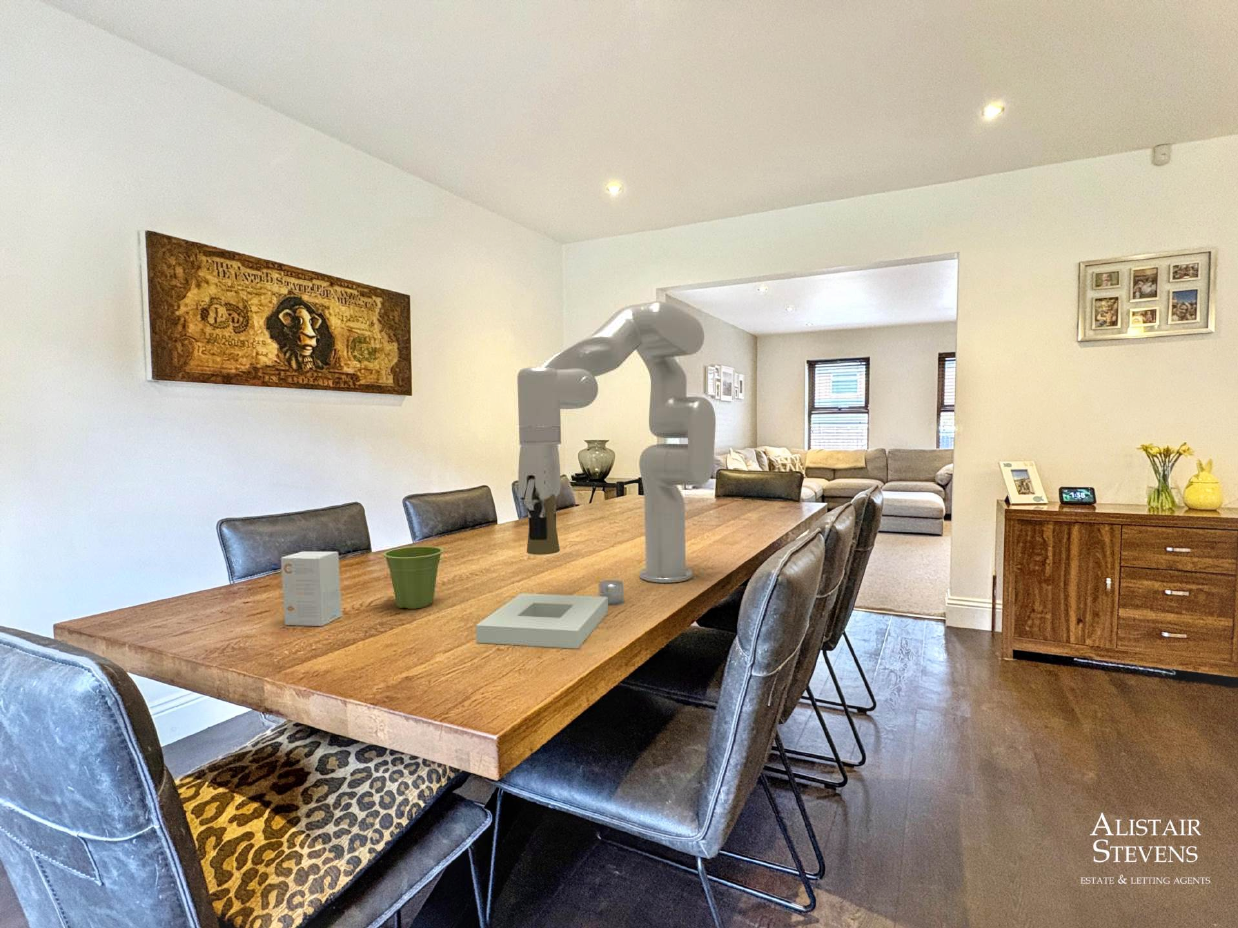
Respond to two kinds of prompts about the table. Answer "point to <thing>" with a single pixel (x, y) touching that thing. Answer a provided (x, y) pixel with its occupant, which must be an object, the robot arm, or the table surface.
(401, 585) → the plant pot
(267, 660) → the table surface
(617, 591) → the short metal pin
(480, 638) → the hole board
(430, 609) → the table surface
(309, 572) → the small box
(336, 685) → the table surface
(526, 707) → the table surface
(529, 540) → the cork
